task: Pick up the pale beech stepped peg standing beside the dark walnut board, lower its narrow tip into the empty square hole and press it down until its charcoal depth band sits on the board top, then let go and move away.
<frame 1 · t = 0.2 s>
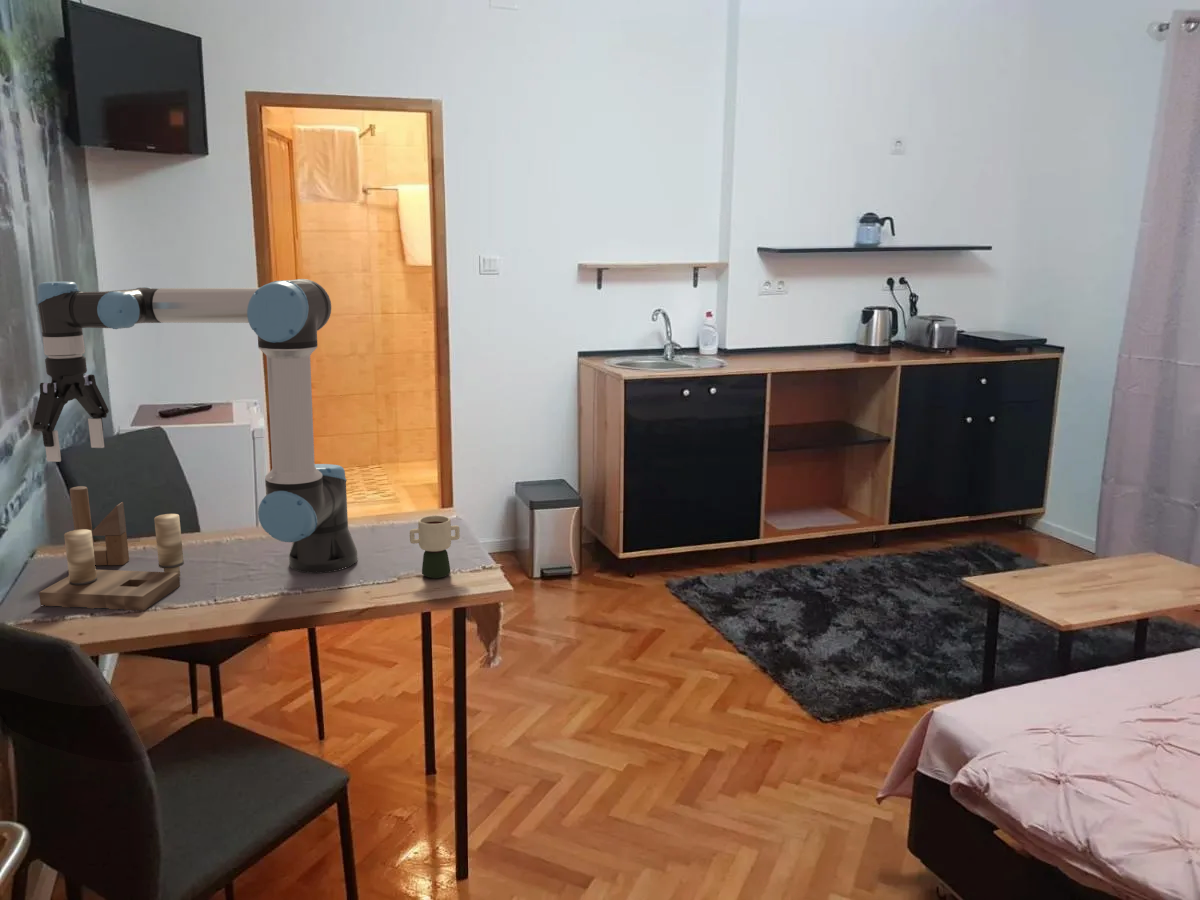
hand: (76, 454, 207), 27 cm above the table, tool pointing down, fingers open, 13 cm apart
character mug: (436, 576, 214), on the table
beech peg: (172, 575, 213), on the table
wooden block: (102, 564, 220), on the table
walnut board: (112, 595, 201), on the table
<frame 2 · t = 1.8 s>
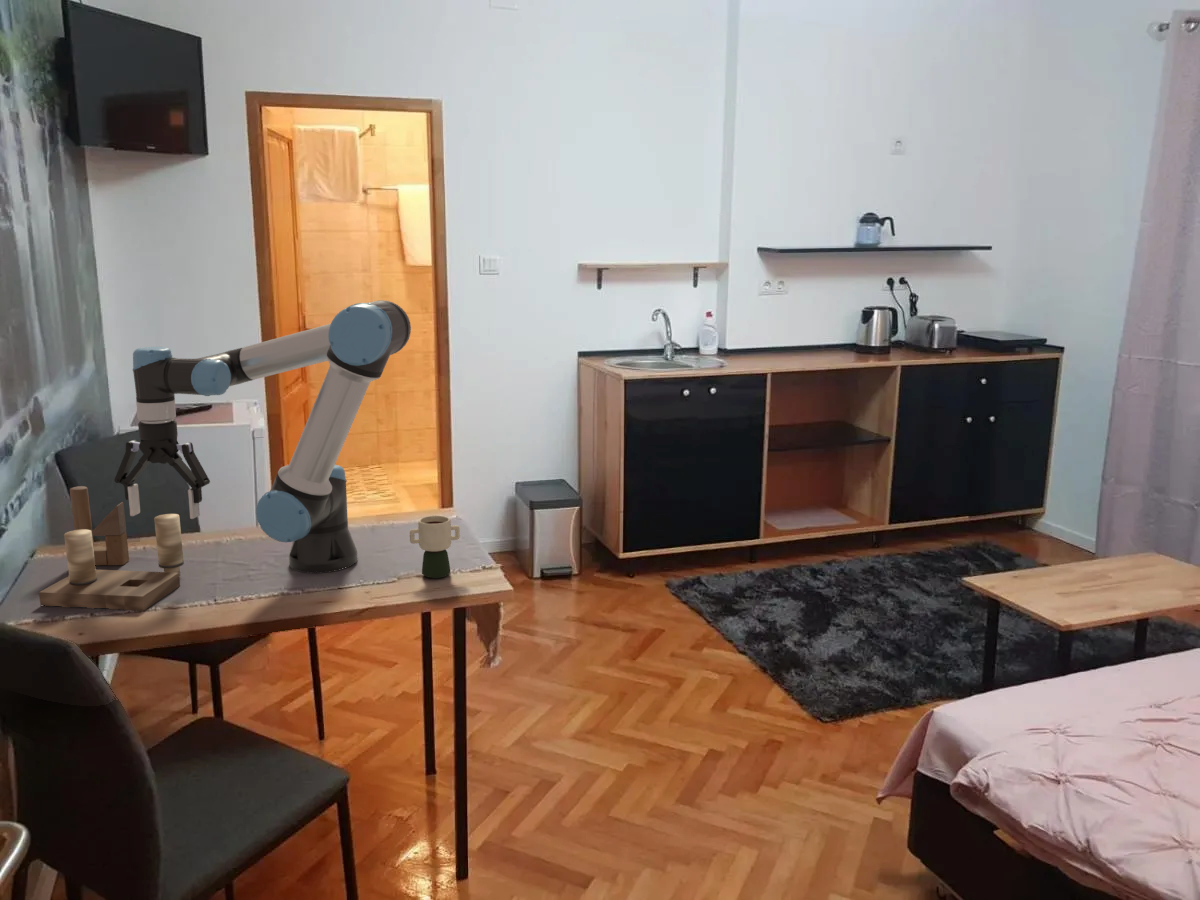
hand: (165, 515, 210), 14 cm above the table, tool pointing down, fingers open, 13 cm apart
nothing on the table moved.
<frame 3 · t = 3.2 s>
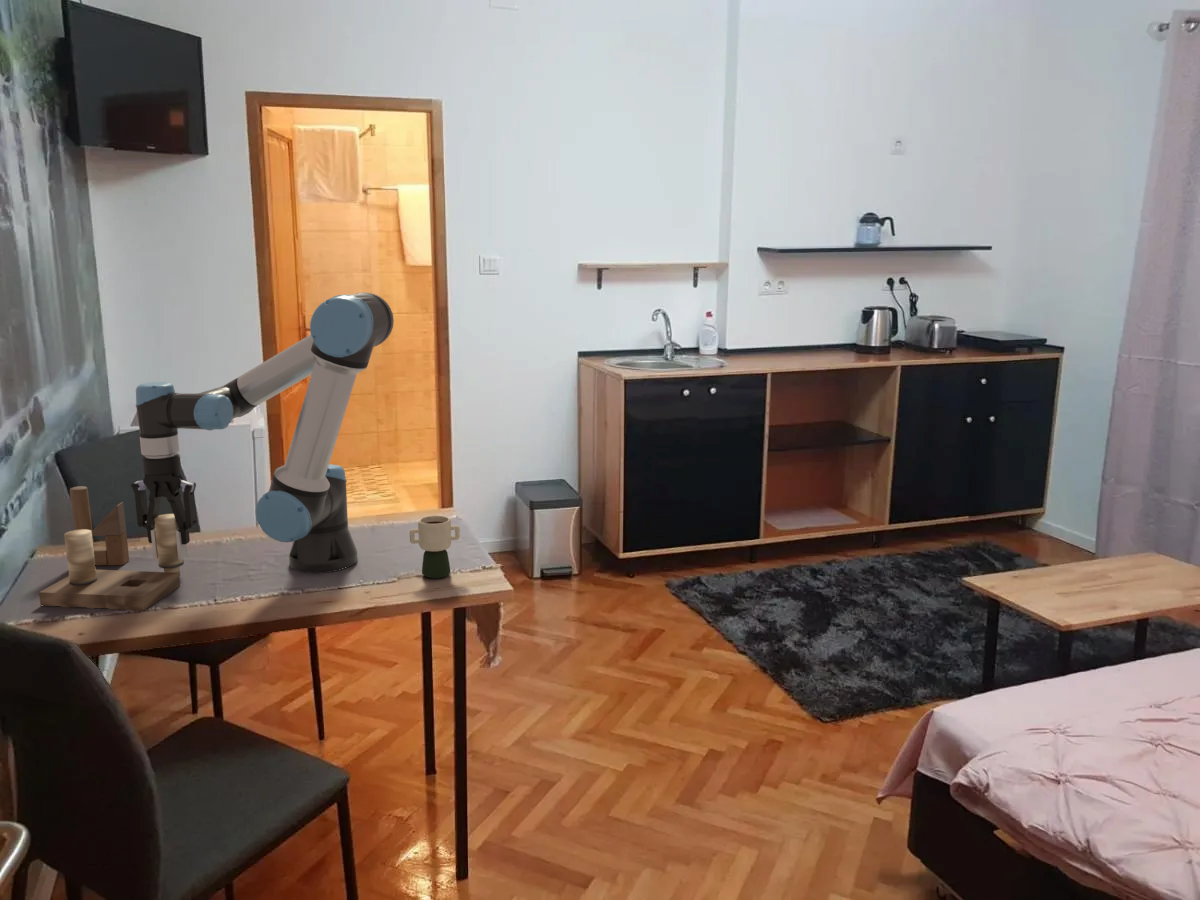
hand: (170, 557, 212), 4 cm above the table, tool pointing down, fingers closed on beech peg, 5 cm apart
beech peg: (172, 575, 213), on the table, touching gripper
everything else where it was.
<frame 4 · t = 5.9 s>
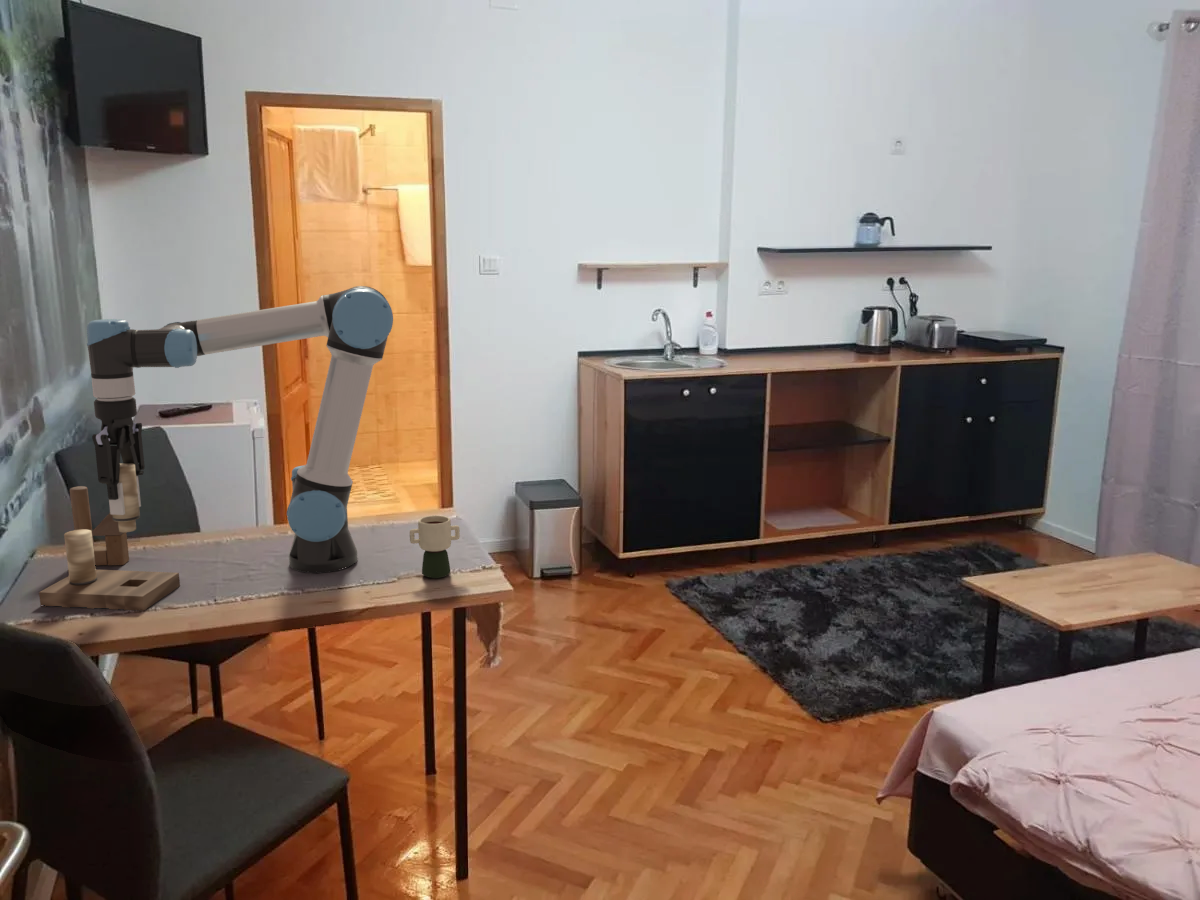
hand: (125, 510, 196), 19 cm above the table, tool pointing down, fingers closed on beech peg, 5 cm apart
beech peg: (127, 530, 197), point 14 cm above the table, touching gripper
everything else where it was.
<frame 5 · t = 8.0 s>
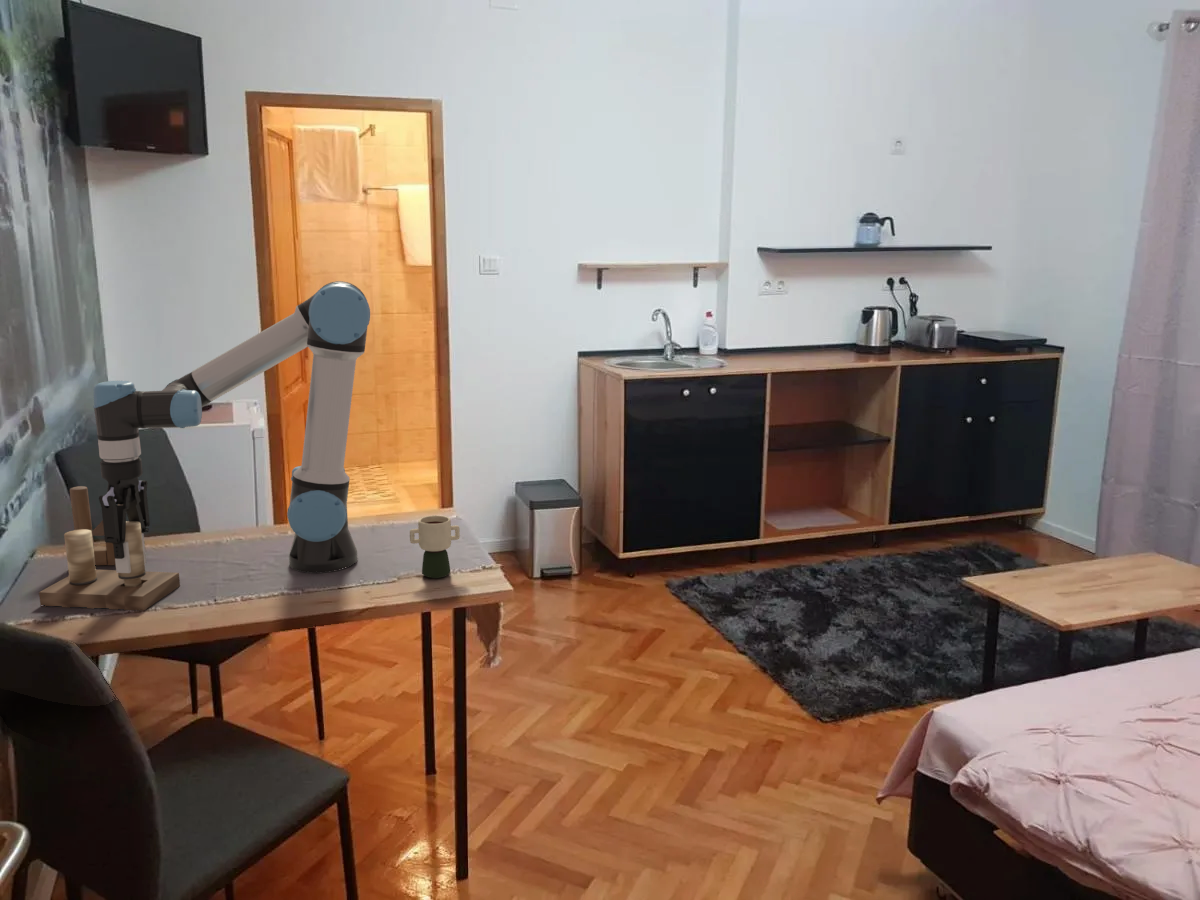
hand: (131, 567, 199), 6 cm above the table, tool pointing down, fingers closed on beech peg, 5 cm apart
beech peg: (133, 586, 200), point 2 cm above the table, touching gripper
everything else where it was.
when the fingers open (4 cm above the table, at t = 8.9 s): beech peg stays where it is, resting on walnut board.
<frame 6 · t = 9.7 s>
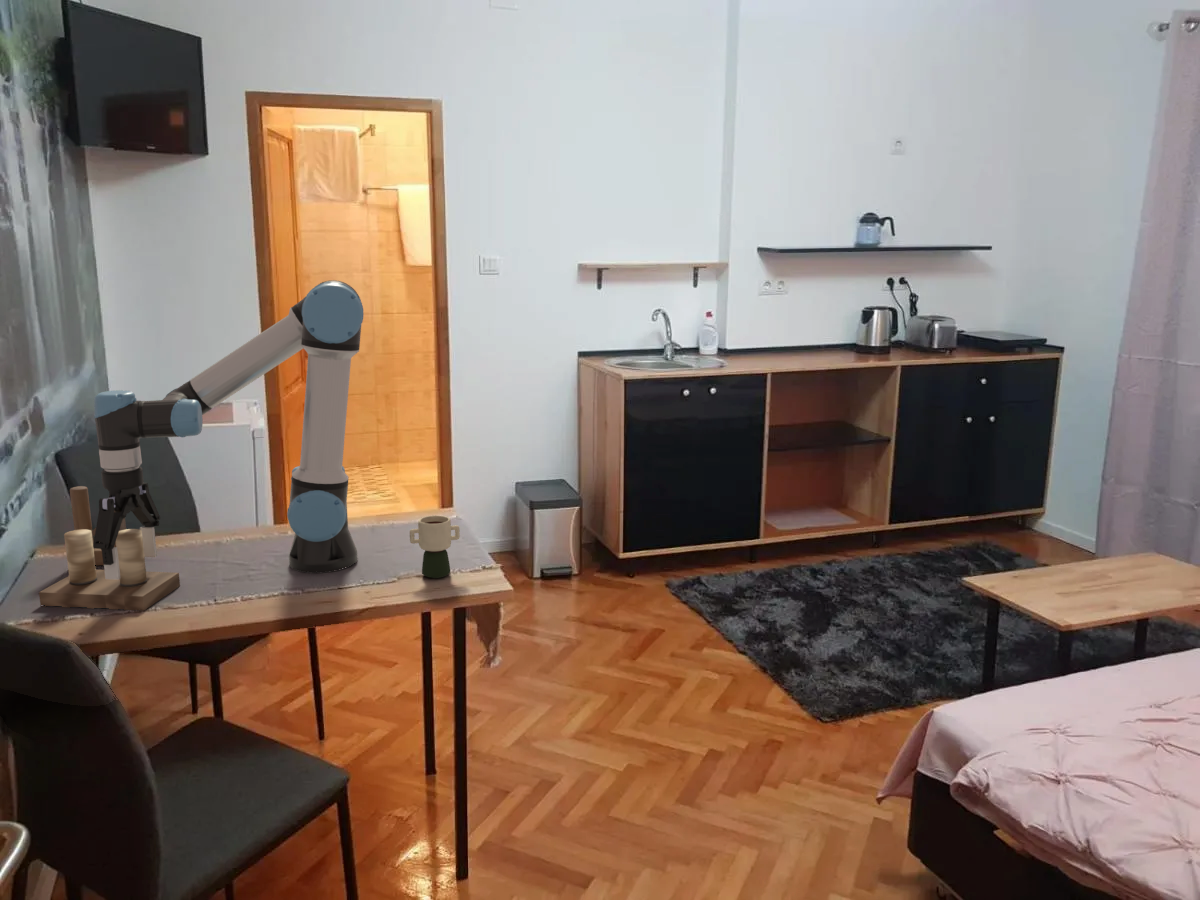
hand: (132, 567, 199), 6 cm above the table, tool pointing down, fingers open, 13 cm apart
beech peg: (134, 594, 200), resting on walnut board
everything else where it was.
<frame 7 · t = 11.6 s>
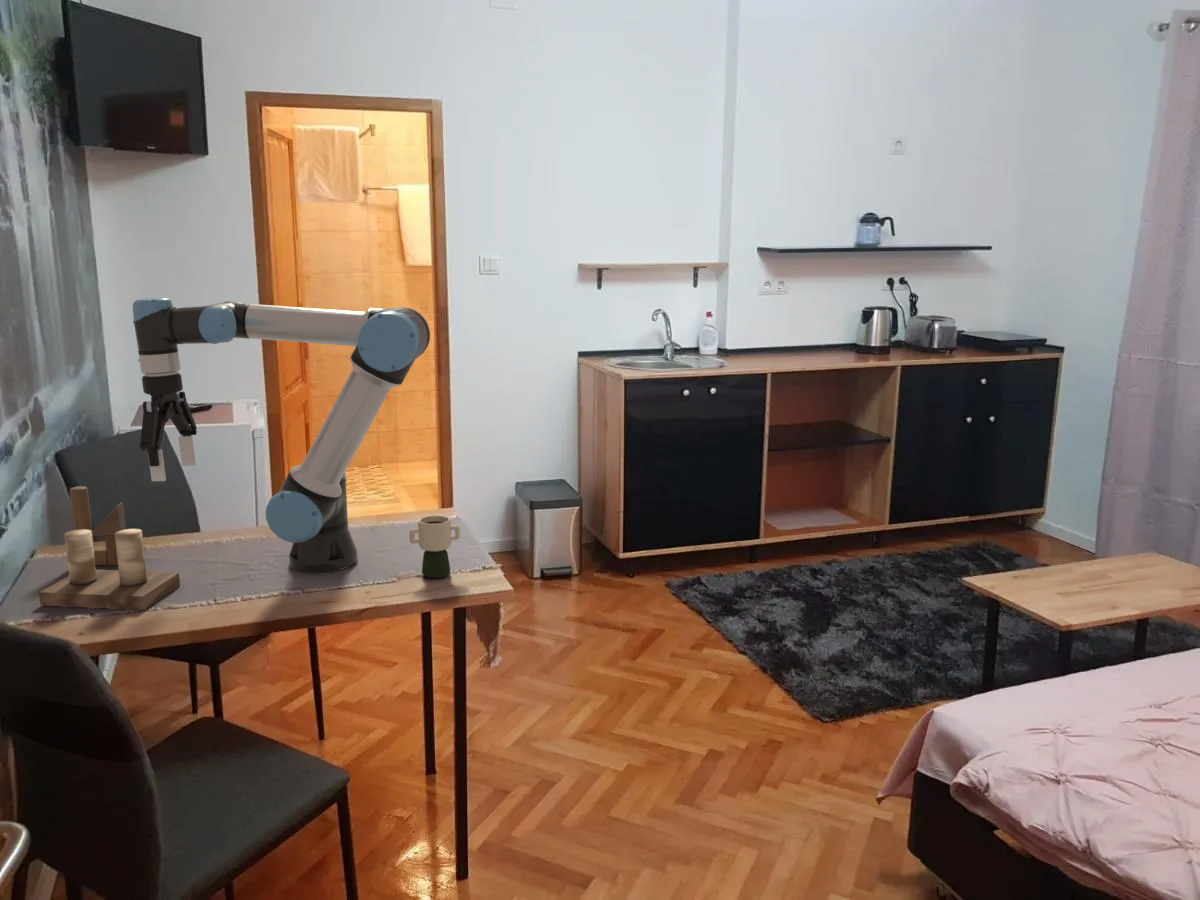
hand: (174, 473, 204), 24 cm above the table, tool pointing down, fingers open, 13 cm apart
nothing on the table moved.
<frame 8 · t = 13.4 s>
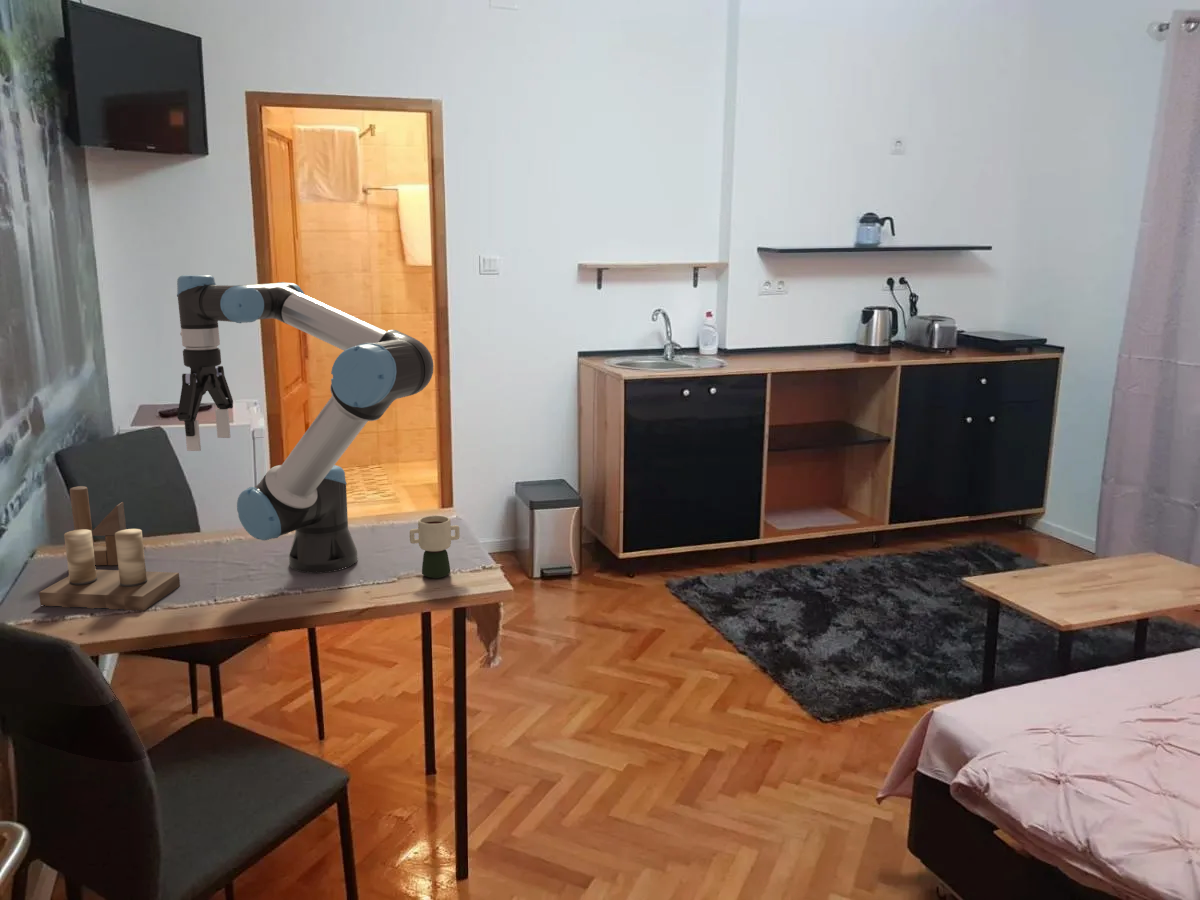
hand: (209, 444, 212), 29 cm above the table, tool pointing down, fingers open, 13 cm apart
nothing on the table moved.
at the end: beech peg 0.0 cm from the target spot on the walnut board, point 0.5 cm above the walnut board's base; beech peg tilted 0°; the gripper is holding nothing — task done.
